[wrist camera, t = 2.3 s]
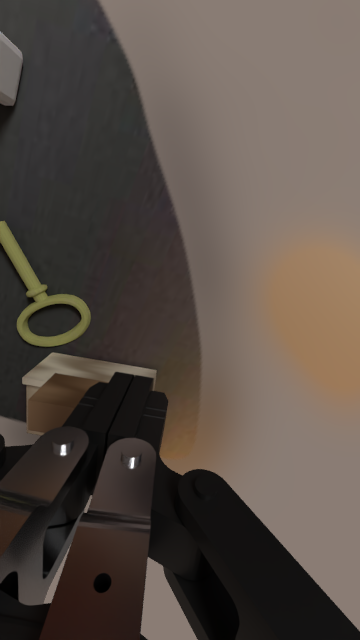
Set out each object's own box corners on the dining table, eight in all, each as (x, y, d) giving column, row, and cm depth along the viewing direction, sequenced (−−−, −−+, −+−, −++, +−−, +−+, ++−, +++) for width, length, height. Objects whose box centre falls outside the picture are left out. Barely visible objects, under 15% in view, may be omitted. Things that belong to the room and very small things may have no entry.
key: (8, 214, 27) (-8, 213, 25) (102, 318, 29) (94, 325, 27) (-40, 264, 29) (-59, 267, 27) (52, 358, 31) (42, 368, 29)
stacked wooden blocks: (51, 391, 31) (-8, 456, 22) (52, 343, 29) (-12, 393, 21) (151, 409, 31) (130, 481, 22) (158, 361, 29) (138, 419, 20)
